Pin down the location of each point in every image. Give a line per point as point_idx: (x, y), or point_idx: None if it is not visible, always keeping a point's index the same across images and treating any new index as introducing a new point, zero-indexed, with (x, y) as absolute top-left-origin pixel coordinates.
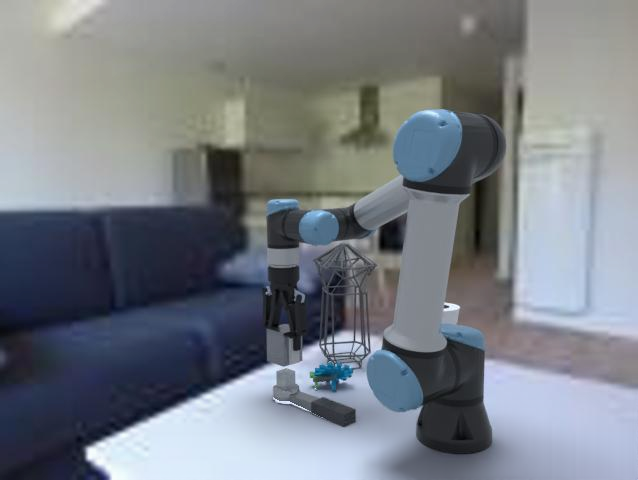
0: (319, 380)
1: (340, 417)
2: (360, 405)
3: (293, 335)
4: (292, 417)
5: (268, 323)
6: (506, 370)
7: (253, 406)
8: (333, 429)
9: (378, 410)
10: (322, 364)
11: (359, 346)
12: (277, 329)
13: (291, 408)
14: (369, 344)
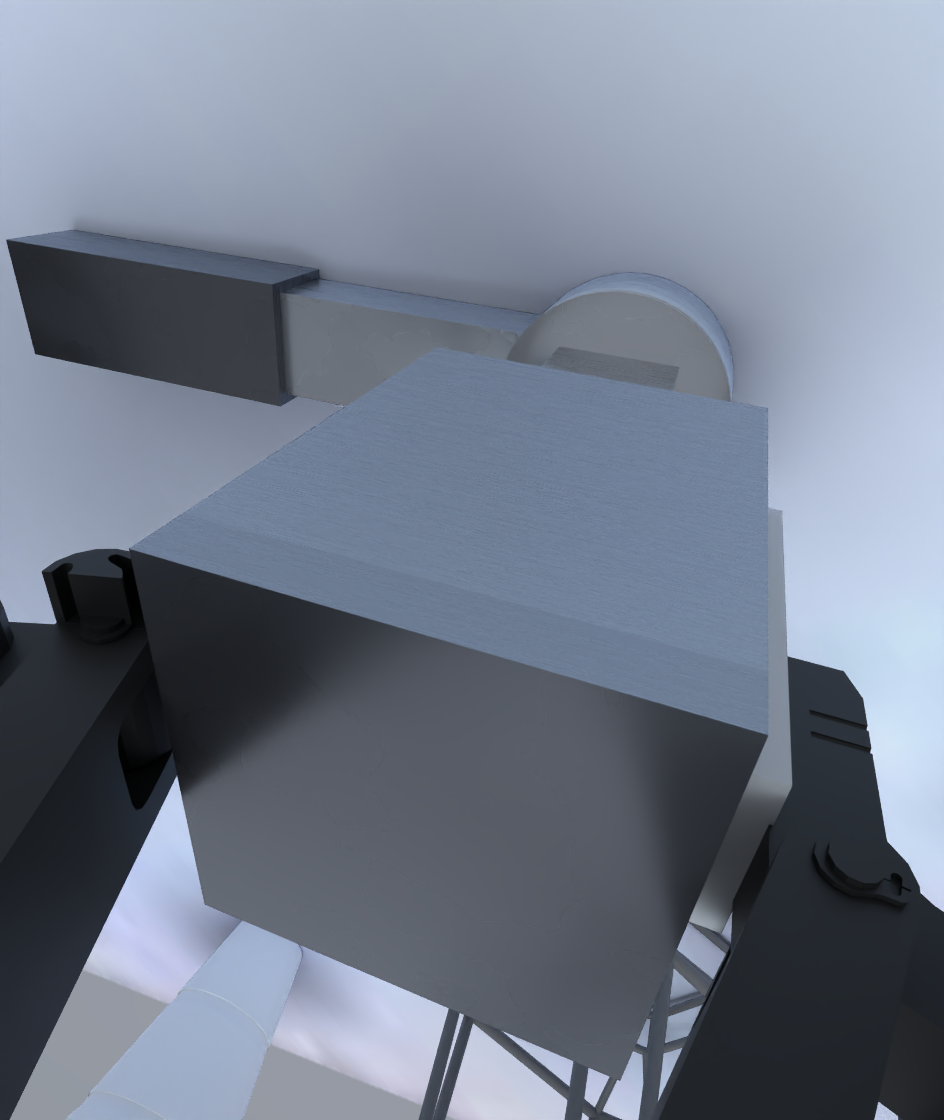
0: None
1: (54, 239)
2: None
3: (54, 602)
4: (368, 127)
5: (882, 1004)
6: (139, 966)
7: (793, 73)
8: (78, 157)
9: (132, 515)
10: None
11: (605, 1094)
12: (457, 751)
13: (482, 262)
14: (451, 1058)
